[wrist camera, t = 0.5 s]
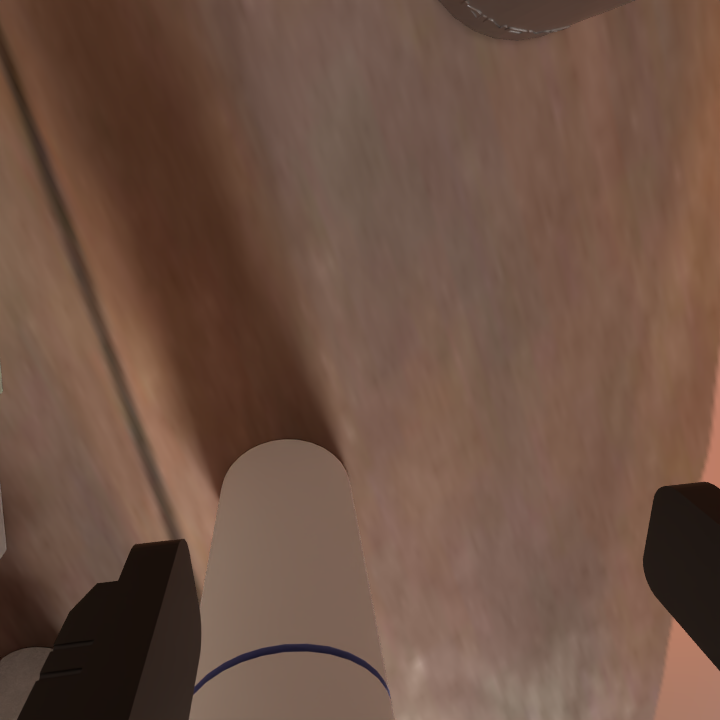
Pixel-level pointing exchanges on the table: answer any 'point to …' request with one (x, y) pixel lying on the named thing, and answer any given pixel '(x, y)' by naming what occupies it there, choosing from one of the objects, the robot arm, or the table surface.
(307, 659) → the cylindrical container
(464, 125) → the table surface
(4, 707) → the house plant
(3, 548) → the block
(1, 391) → the tray
